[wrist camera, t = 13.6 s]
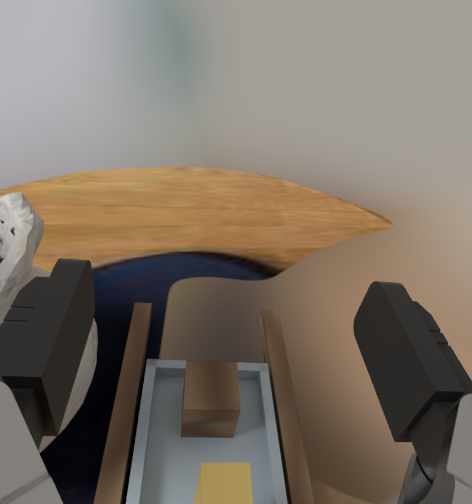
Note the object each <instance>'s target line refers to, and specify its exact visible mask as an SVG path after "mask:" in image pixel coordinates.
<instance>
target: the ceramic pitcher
mask: <svg viewBox="0 0 472 504" xmlns="http://www.w3.org/2000/svg"><path fill="white" fill-rule="evenodd" d="M43 229H44V220H43V219H41V218H40V217H38V216H37V214H36V213H35V211H34V210H33V208H32V206H31V205H30V203H29V202H28V200H27V199H26V197H25V196H24V195H23V194H22V193H20V192H14V193H10V194H7V195H2V196H0V325H1V323H3V321H4V320H3V319H4V318H5V316H6V314H7V312H8V310H9V309H11V305H12V303H13V301H14V299H15V298H16V296H17V294H18V292H19V290H20V289H21V288H23V287H24V286H25V285H26V284H27V283H29V282H30V281H31V280H32V279H33V278H35V277H36V276H38V277H50V275H51V273H49V272H47V271H45V270H43V269H40V268H37V267H33V266H32V264H33V259H34V255H35V253H36V250H37V248H38V246H39V243H40V241H41V239H42V237H43ZM97 345H98V336H97V325H96V322H95V319H93V323H92V327H91V330H90V333H89V336H88V340H87V343H86V346H85V349H84V353H83V356H82V359H81V362H80V366H79V369H78V372H77V376H76V379H75V382H74V385H73V389H72V392H71V395H70V398H69V402H68V405H67V408H66V411H65V415H64V418H63V421H62V424H61V428H60V431H59V434H60V433H61V432H62V431H63V430H64V429H65V428H66V426H67V425H68V423H69V422H70V421H71V419H72V418H73V417H74V415H75V414H76V412H77V411H78V410H79V408H80V407H81V405H82V403H83V401H84V398H85V396H86V393H87V391H88V388H89V386H90V384H91V381H92V378H93V374H94V370H95V366H96V362H97ZM59 434H58V435H59ZM56 437H57V436H43V438H42V441H41V444H40V447H39V450H38V452H39V453H40V452H42V451H43V450H44V449H45V448H46V447H47V446H48V445H49V444H50V443H51V442H52V441H53V440H54V439H55V438H56Z"/></svg>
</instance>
